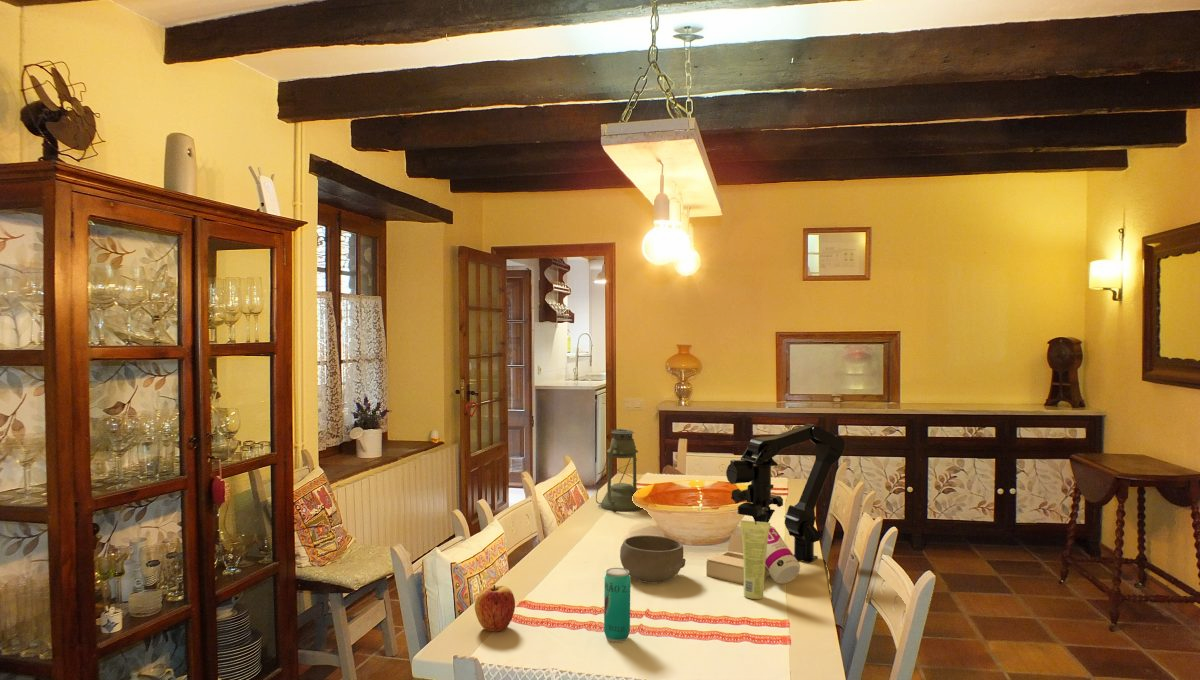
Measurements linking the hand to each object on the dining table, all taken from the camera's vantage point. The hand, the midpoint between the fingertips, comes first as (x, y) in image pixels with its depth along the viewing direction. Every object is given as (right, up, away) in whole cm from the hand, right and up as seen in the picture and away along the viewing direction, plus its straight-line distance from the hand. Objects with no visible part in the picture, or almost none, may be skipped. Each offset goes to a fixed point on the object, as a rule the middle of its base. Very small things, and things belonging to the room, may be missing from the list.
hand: (760, 534), depth 225 cm
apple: (-71, -9, -51) cm, 88 cm away
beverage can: (-44, -9, -56) cm, 71 cm away
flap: (-4, -2, -5) cm, 7 cm away
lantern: (-39, -8, +73) cm, 83 cm away
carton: (-8, -9, -11) cm, 16 cm away
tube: (-7, -9, -28) cm, 30 cm away
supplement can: (+3, -6, -21) cm, 22 cm away
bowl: (-33, -9, -13) cm, 37 cm away
